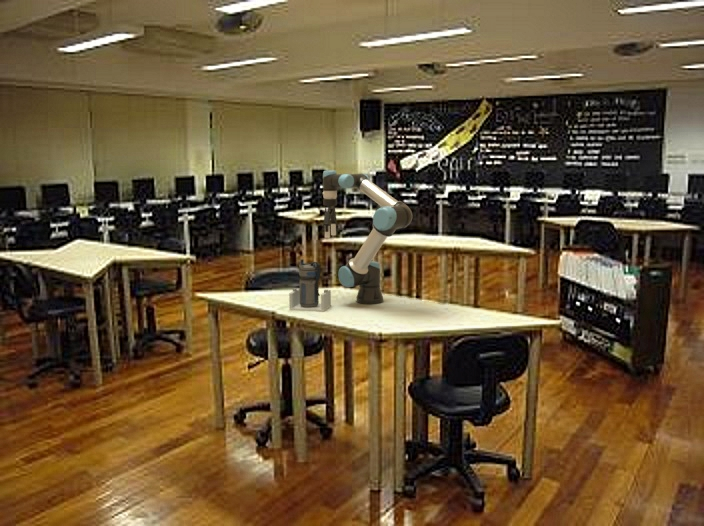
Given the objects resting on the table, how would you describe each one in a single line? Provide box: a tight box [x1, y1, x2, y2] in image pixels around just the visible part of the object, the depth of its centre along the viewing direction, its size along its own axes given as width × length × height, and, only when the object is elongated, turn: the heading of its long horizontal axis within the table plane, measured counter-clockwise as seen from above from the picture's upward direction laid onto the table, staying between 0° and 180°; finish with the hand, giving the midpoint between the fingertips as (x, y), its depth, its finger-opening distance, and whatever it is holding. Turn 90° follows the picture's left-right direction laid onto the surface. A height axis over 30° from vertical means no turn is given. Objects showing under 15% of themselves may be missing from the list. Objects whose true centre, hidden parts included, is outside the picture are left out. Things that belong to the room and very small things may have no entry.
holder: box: [288, 287, 332, 313], centre depth 335 cm, size 19×14×10 cm
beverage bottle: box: [298, 259, 322, 307], centre depth 334 cm, size 10×13×25 cm
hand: (330, 236), depth 349 cm, fingers open, 13 cm apart
